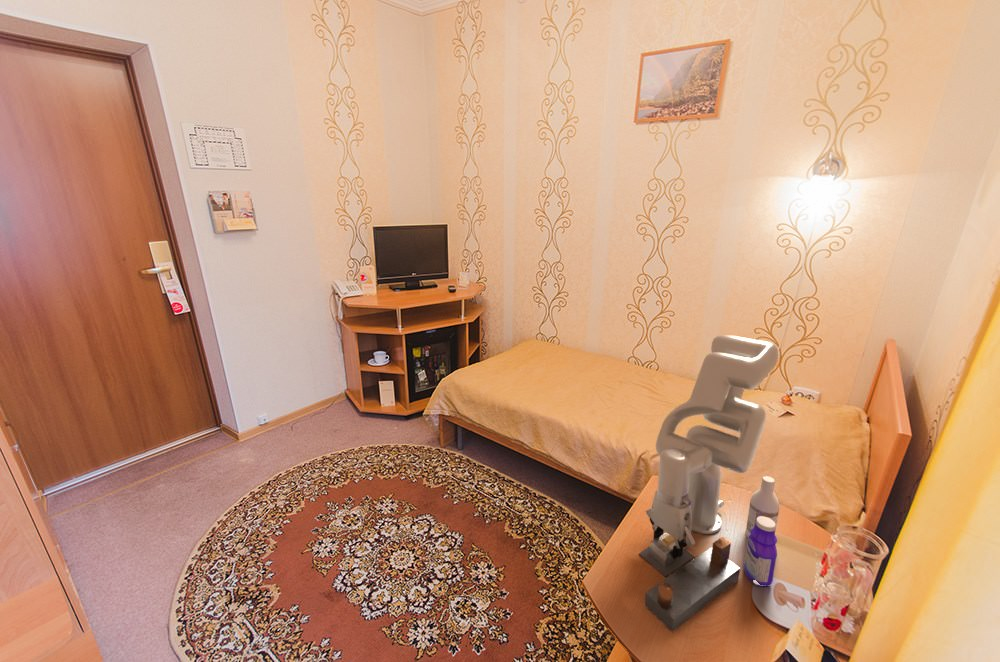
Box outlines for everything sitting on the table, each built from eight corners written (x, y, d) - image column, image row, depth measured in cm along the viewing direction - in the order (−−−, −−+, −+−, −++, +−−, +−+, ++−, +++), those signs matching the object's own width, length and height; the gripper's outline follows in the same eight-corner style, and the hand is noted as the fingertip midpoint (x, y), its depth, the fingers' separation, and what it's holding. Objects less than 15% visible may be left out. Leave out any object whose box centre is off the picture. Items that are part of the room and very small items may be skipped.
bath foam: (758, 549, 115) (768, 489, 110) (739, 531, 122) (748, 473, 116) (779, 544, 117) (790, 484, 111) (759, 527, 123) (768, 469, 118)
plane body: (709, 559, 113) (713, 529, 110) (738, 580, 106) (743, 549, 103) (644, 605, 100) (646, 573, 98) (672, 632, 94) (675, 598, 91)
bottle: (739, 564, 111) (747, 511, 106) (761, 566, 110) (770, 512, 105) (752, 588, 104) (761, 532, 99) (776, 589, 103) (786, 533, 98)
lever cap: (668, 542, 118) (669, 527, 117) (683, 554, 114) (685, 539, 113) (649, 554, 114) (650, 539, 113) (664, 567, 110) (666, 551, 109)
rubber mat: (667, 537, 121) (667, 535, 121) (694, 557, 113) (694, 556, 113) (639, 554, 115) (639, 553, 115) (665, 577, 108) (665, 575, 108)
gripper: (710, 507, 103) (704, 564, 108) (655, 472, 118) (651, 524, 123) (692, 518, 100) (685, 577, 105) (637, 481, 114) (633, 534, 119)
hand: (667, 548), depth 114 cm, fingers open, 5 cm apart
